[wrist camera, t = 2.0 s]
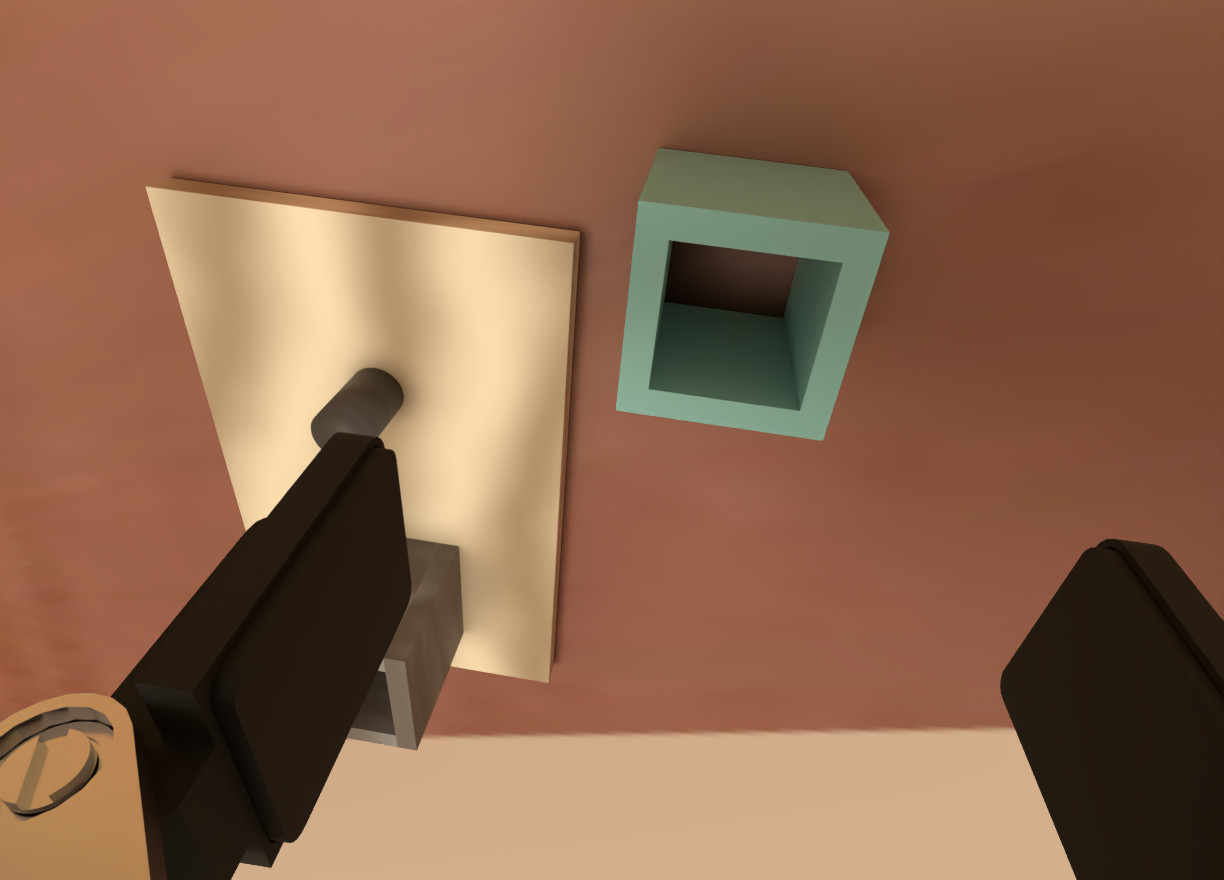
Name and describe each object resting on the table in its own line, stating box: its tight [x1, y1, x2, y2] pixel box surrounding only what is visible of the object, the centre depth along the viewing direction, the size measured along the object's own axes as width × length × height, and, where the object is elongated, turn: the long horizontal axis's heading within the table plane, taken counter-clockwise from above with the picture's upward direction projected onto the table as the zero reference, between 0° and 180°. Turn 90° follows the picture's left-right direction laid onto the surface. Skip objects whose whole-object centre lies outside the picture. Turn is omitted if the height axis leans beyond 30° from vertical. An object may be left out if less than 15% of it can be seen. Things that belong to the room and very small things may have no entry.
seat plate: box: [146, 178, 580, 750], centre depth 26 cm, size 14×22×7 cm, turn 175°
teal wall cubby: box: [616, 148, 890, 441], centre depth 19 cm, size 6×6×6 cm
